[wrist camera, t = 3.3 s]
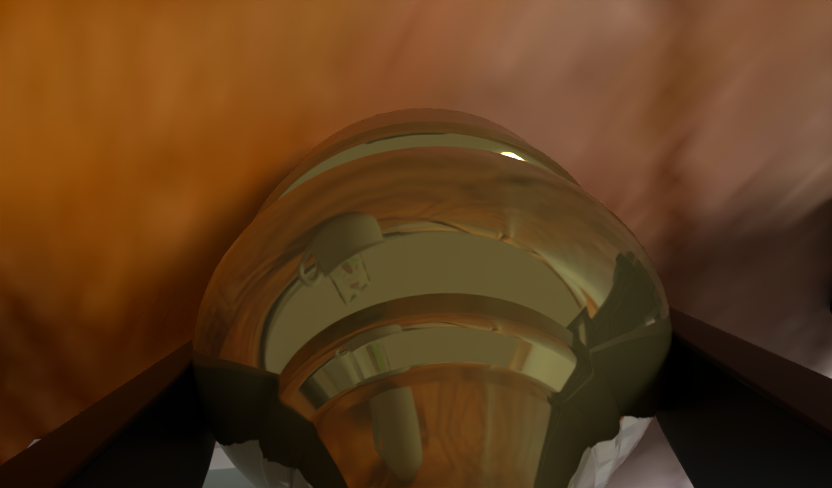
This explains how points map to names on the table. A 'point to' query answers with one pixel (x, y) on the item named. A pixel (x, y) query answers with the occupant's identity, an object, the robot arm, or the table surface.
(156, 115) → the table surface
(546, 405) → the gold rounded piece
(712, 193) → the table surface
